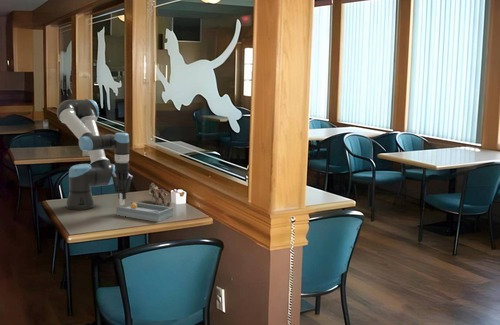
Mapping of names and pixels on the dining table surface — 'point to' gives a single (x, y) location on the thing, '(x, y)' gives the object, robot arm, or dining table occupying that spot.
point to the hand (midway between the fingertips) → (122, 204)
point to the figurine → (158, 195)
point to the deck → (146, 212)
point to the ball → (133, 205)
